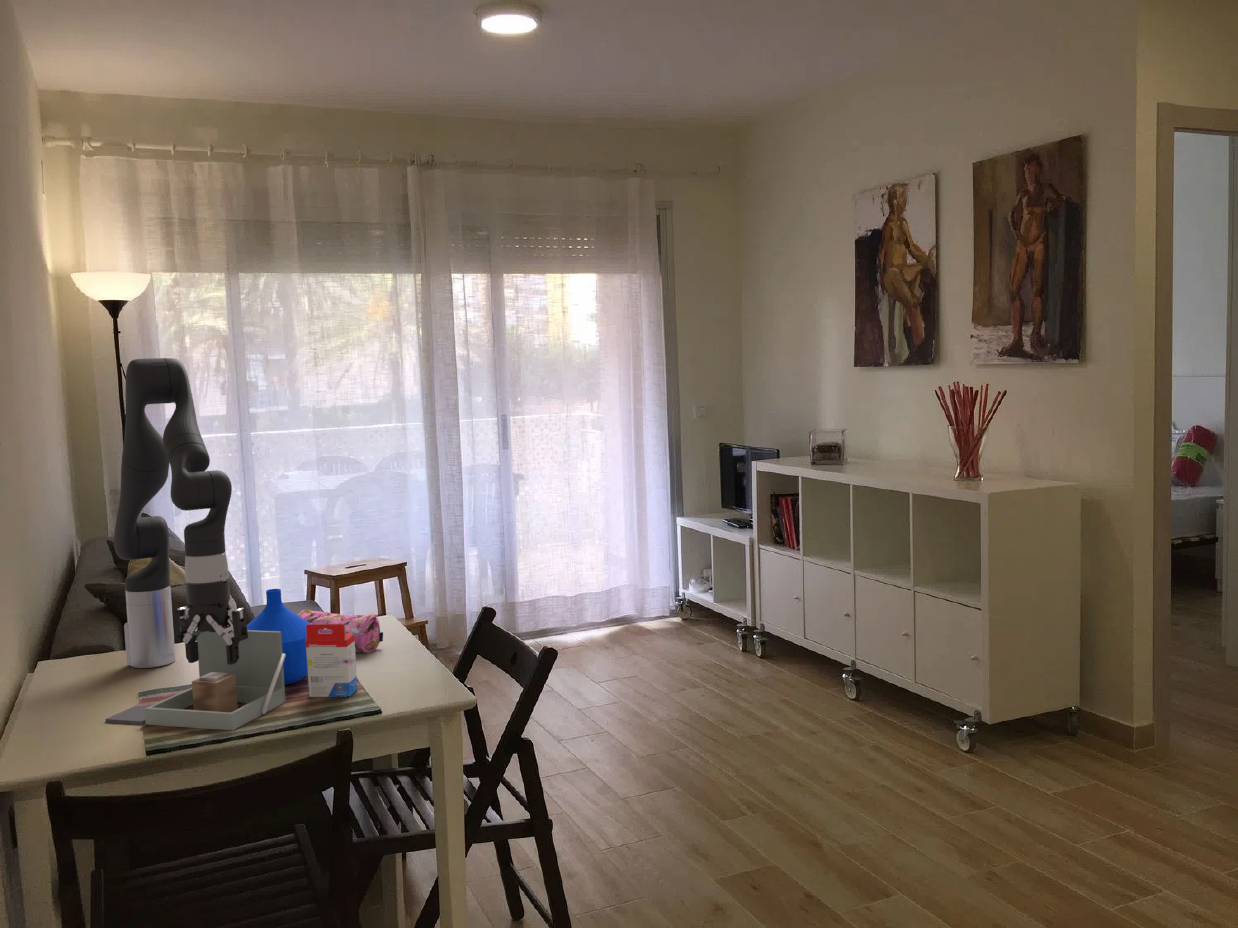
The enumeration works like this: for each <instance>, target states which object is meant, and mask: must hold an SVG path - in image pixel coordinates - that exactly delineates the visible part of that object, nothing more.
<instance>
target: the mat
mask: <svg viewBox="0 0 1238 928" xmlns="http://www.w3.org/2000/svg"><path fill="white" fill-rule="evenodd" d="M149 706H150V705H135V706H134V705H133V706H132V707H130V708H127V709H125V710H122V711H120V712H118V713H115V714H113V715H111V716H109V717H107V718H105V720H104V721H105V723H113V724H129V725H143V724H146V722H145V708H147V707H149Z"/></svg>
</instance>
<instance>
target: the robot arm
mask: <svg viewBox="0 0 1238 928" xmlns="http://www.w3.org/2000/svg"><path fill="white" fill-rule="evenodd" d="M124 387H125V426H124V427H125V428H124V438H123V446H122V455H121V467H120V491H119V492H120V495H119V500H118V501H119V503H118V509H117V513H116V520H115V526H114V532H113V547H114V552H115V554H116V555H117V558H119V559H120V560H123V561H132V560H133V561H135V560H142V559H151V560H150V562H149V563H148V564H147V565H145V566H144V567H143V568H141V569H140V570H138V571H136V572H133V573H132V574H129V575H128V576H127V577H126V578H125V579H124V588H125V590H124V591H125V602H126V616H127V622H125V623H124V625H123V631H124V632H123V633H124V644H125V657H126V666H131V667H132V668H136V669H151V668H157V667H162V666H166V665H170V664H172V663H174V662H175V661H176V651H175V640H177V641H182V642H183V643H184V647H185V657H186V660H187V662H188V663H189V664H193V663H196V662H199V661H198V660H199V654H198V641H197V638H198V636H199V634H200V633H201V632H206V631H209V632H217V633H218V635H219V636H221V637H223V639H224V640H225V642H226V643H227V644H228V645H226V653H227V664H228V665H232V664H235V663H237V661H238V660H239V645H238V644H239V642H240V641H242V640H245V639H247V638H248V631H247V625H248V623H247V615H246V609H245V608H244V607H239V608H235V609H231V607H230V605H229V603H230V599H231V592H230V575H229V563H228V562H229V561H228V558H227V553H226V539H225V538H226V537H225V536H226V534H225V529H226V528H225V527H226V521H227V515H228V510H229V506H230V501H231V499H232V492H233V490H232V489H233V487H232V482H231V480H230V478H229V477H230V476H228V474H227V473H226V472H224V471H222V470H207V469H208V468H209V466H210V464H211V463H210V462H211V458H210V455H209V452H208V450H207V446H206V444H205V442H204V440H203V437H202V435H201V431H200V429H199V425H198V421H197V413H196V408H195V404H194V399H193V394H192V388H191V384H190V381H189V375H188V372H187V370H186V366H185V365H184V363H183V362H182V361H181V360H180V359H178V358H171V357H159V358H158V357H157V358H155V357H154V358H150V357H149V358H146V357H145V358H135V359H132V360H131V361H130V362H129V363H128V364H127V367H126V371H125V386H124ZM161 404H162V405H163V404H174V405H175V408H174V411H173V413H172V416H171V417H170V418H169V421H168V422H167V424H166V425H165V427H164V430H163V435H161V434H160V433H159V431H158V430H157V429H156V428H155V426H153V424H152V422H151V421H150V419H149V418H148V416H147V414H146V406H148V405H161ZM170 470H171V483H170V499H171V501H172V502H171V503H172V504H173V505H174V506H175V508H178V509H179V510H182V511H185V512H187V511H197V510H208V509H209V512H208V514H207V515H206V517H203V519H200V520H198V521H195V522H191V523H189V524H187V525H186V526H185V527H184V529H183V538H184V555H185V557H184V558H185V560H184V576H185V589H186V591H185V592H186V603H187V605H189V607H188V606H187V605H185V606H182V607H178V608H176V609H174V612H173V604H172V591H171V590H172V589H171V572H170V570H171V569H170V568H171V567H170V535H169V534H170V533H169V527H168V524H167V521H166V519H165V518H164V517H163V516H161V515H153V516H152V515H151V516H141V517H139V516H140V513H141V512H142V511H143V509H144V508H145V507H146V506H147V504H149V502H150V501H151V500H153V498H154V497H155V496H156V495H157V494H158V493H159V492H160V491H161V489H162V488H163V487H164V485H165V484H166V482H167V480H168V478H169V471H170ZM173 614H174V615H173ZM173 616H174V619H173ZM189 618H190V621H191V623H190V625H189ZM173 620H174V621H173ZM224 627H225V628H224Z"/></svg>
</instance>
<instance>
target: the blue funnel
mask: <svg viewBox="0 0 1238 928" xmlns="http://www.w3.org/2000/svg"><path fill="white" fill-rule="evenodd" d="M265 594H266V595H265V596H266V605H265V607H263V609H262V611H261V612H260V613H259V614H258V615H257V616H255V617H254V618H253V620H251V621H250V622H249V623H247V630H256V631H281V635H282V652H283V653H284V654H286V655H285V658H284V661H283V669H284V685H289V684H293V683H296V682H299V681H301V680H303V679H304V678H305V677H306V676H308V669H307V654H306V643H305V640H306V625H307V624H310V623H309V622H307V621H305V620H304V619H302V618H300V617H299V616H297V615H298V614H296V613H294V612H293V611H291V610H290V609H288V608H287V607H286V606H285V605H284V604H283V601H282V588H271V589H266V590H265ZM319 633H320V631H319Z"/></svg>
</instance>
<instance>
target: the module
mask: <svg viewBox="0 0 1238 928" xmlns="http://www.w3.org/2000/svg"><path fill="white" fill-rule="evenodd" d="M191 688H192V692H193V704H192V705H193V710H200V711H216V712H233V711H235V710H237V709H239V708H238V702H237V689H236V674H228V673H219V672H211V673H208V674H206V675H204V676H202V677H200V676H199V677H198V678H197V679H194V680H191Z"/></svg>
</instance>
